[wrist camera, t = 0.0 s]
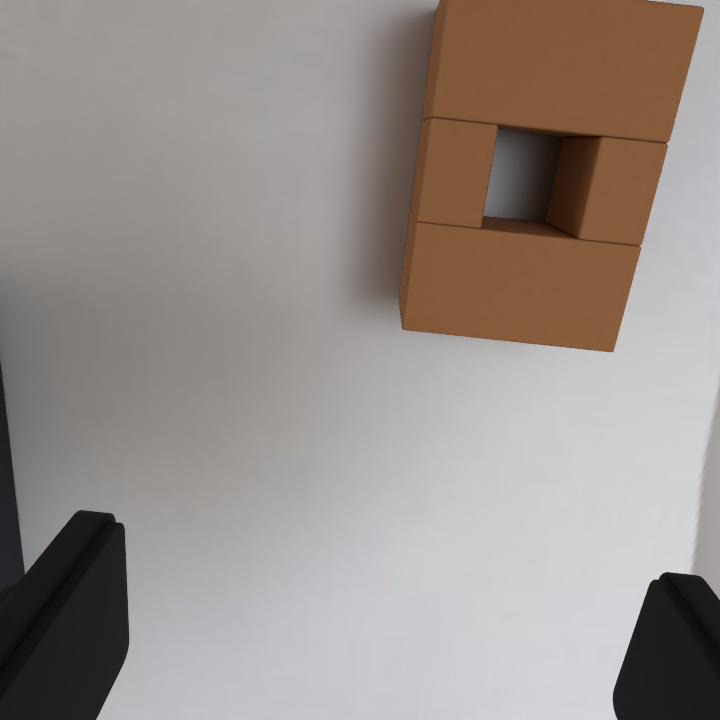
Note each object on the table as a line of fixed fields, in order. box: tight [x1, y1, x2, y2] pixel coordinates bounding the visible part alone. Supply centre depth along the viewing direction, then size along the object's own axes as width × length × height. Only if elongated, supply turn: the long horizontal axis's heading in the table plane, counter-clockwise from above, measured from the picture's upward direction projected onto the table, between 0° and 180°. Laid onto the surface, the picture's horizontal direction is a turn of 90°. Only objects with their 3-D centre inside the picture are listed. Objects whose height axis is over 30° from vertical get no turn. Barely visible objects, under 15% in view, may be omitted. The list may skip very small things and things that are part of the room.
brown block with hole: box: [399, 0, 704, 352], centre depth 20 cm, size 10×7×4 cm
